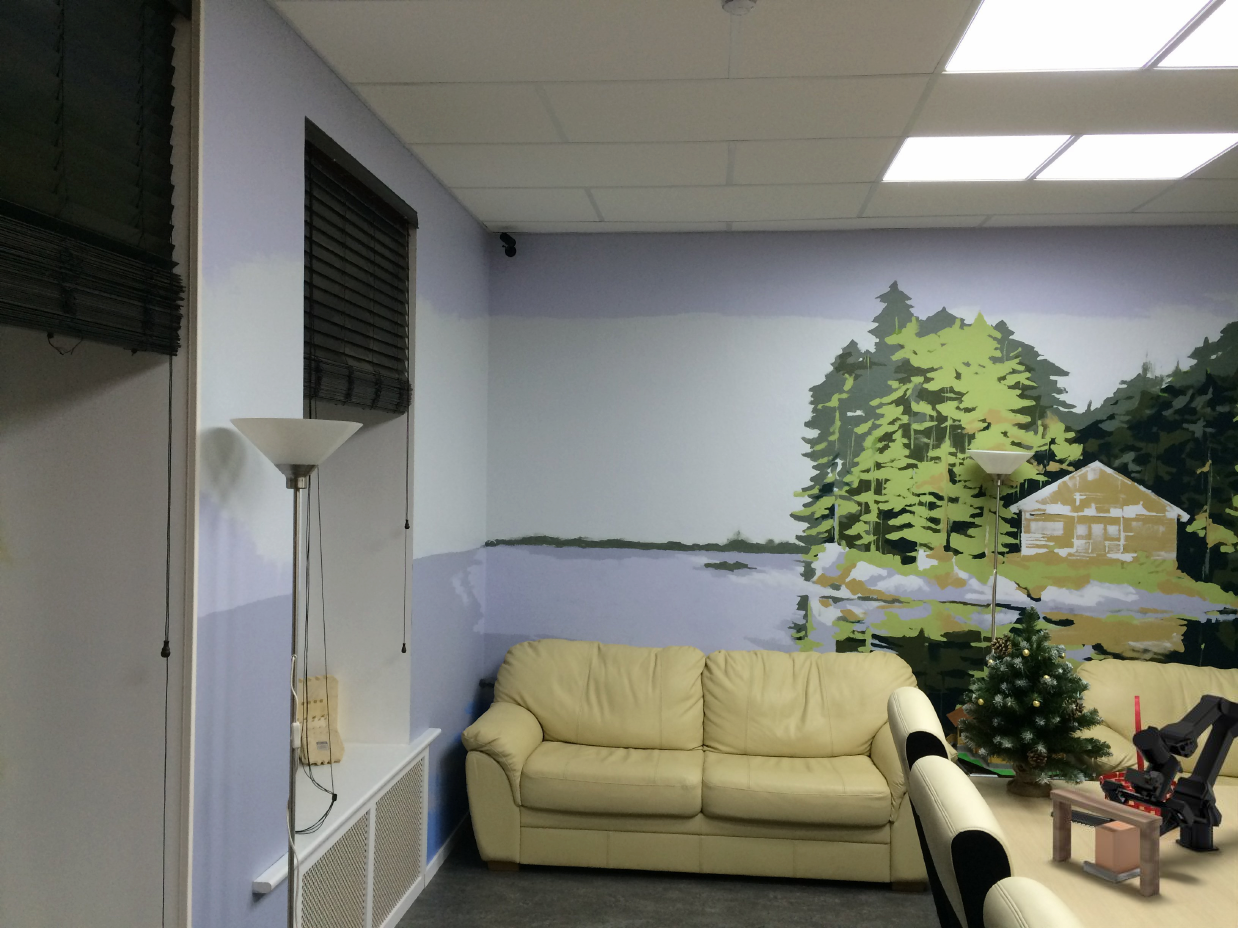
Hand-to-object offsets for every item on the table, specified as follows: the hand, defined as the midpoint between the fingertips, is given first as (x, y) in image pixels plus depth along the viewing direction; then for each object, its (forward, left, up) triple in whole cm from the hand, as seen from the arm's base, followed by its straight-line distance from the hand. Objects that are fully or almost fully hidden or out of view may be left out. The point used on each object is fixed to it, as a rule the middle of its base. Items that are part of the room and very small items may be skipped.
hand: (1130, 832), depth 200 cm
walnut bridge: (+6, +2, -8) cm, 10 cm away
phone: (-12, -27, -8) cm, 31 cm away
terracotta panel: (+4, +1, -8) cm, 9 cm away
